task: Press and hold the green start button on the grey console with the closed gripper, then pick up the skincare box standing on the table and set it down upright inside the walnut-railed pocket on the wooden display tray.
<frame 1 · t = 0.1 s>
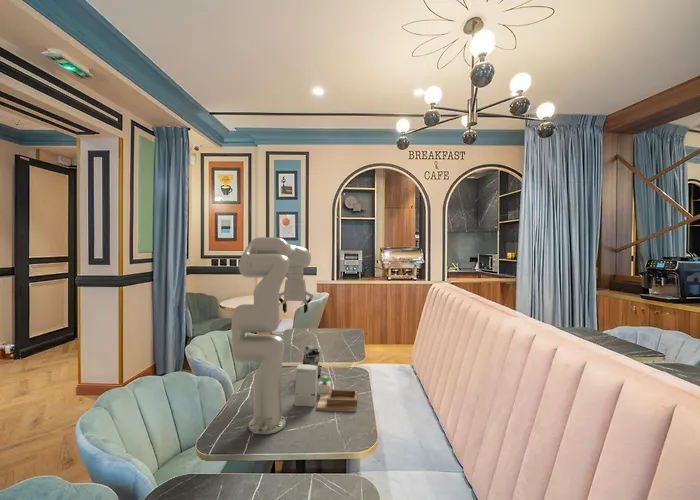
hand: (295, 312, 167), 31 cm above the table, tool pointing down, fingers open, 9 cm apart
figurine: (311, 378, 167), on the table
wooden display tray: (337, 403, 140), on the table
start button: (324, 383, 150), point 4 cm above the table, slide at 0.0 cm
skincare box: (306, 403, 140), on the table
console: (324, 392, 150), on the table
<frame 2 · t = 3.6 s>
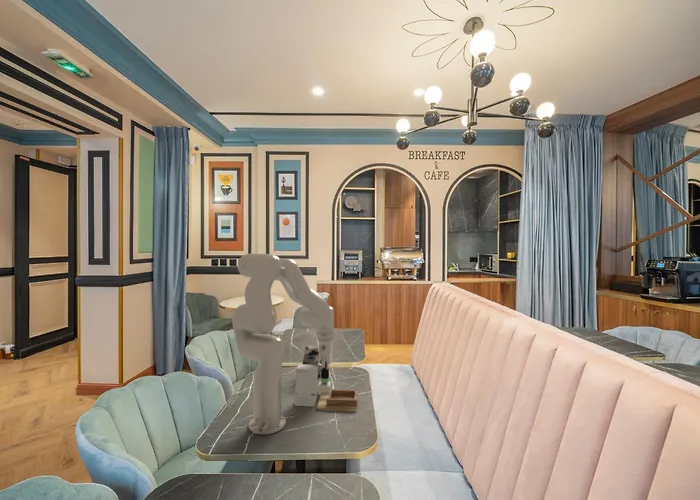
hand: (325, 377, 150), 6 cm above the table, tool pointing down, fingers closed
start button: (324, 384, 150), point 4 cm above the table, slide at 0.5 cm, touching gripper
everything else where it was.
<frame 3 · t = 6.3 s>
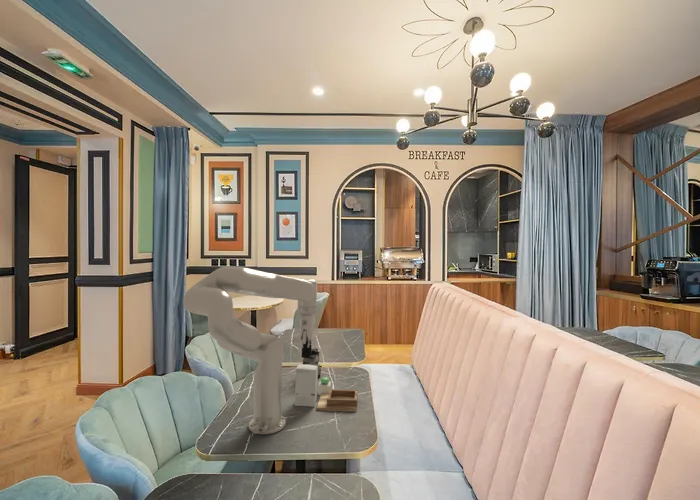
hand: (306, 355, 140), 19 cm above the table, tool pointing down, fingers closed
start button: (324, 384, 150), point 3 cm above the table, slide at 0.7 cm
everything else where it was.
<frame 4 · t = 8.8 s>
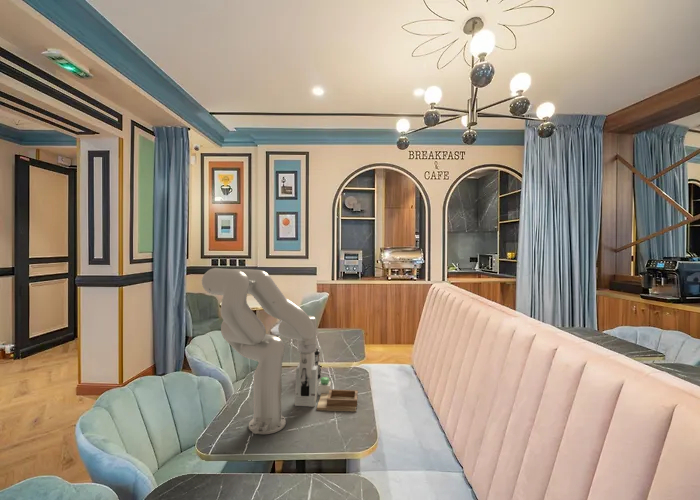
hand: (306, 391, 140), 5 cm above the table, tool pointing down, fingers closed on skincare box, 5 cm apart
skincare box: (306, 403, 140), on the table, touching gripper
everything else where it was.
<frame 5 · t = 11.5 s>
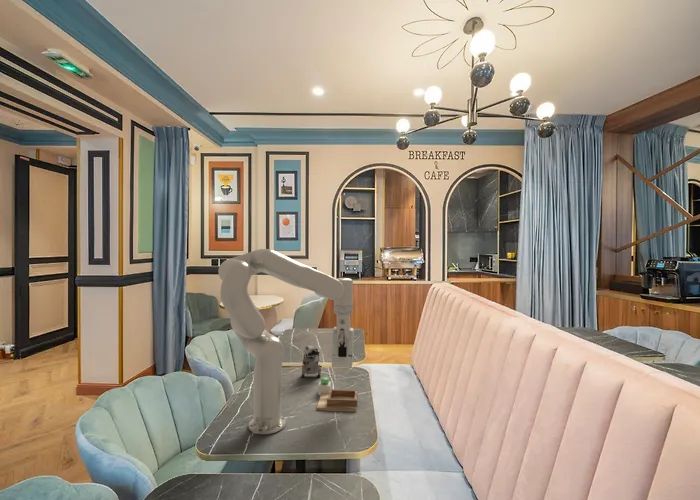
hand: (343, 353, 140), 20 cm above the table, tool pointing down, fingers closed on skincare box, 5 cm apart
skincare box: (342, 365, 140), point 15 cm above the table, touching gripper
everything else where it was.
when the fingers open (7 cm above the table, at t = 14.2 s): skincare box drops 1 cm, resting on wooden display tray.
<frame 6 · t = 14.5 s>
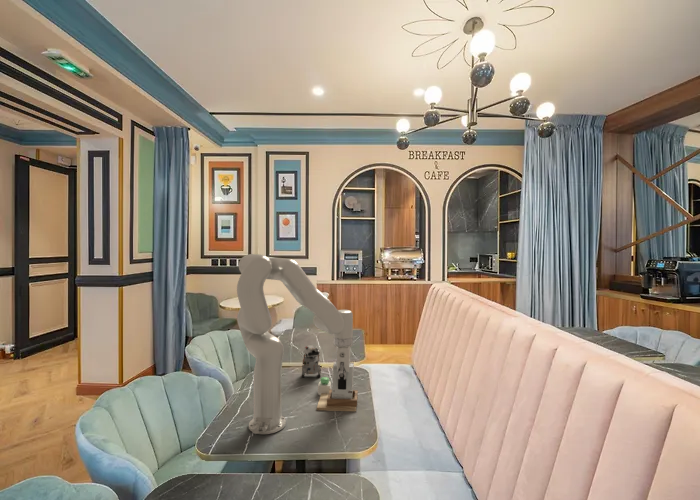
hand: (342, 384, 140), 8 cm above the table, tool pointing down, fingers open, 8 cm apart
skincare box: (342, 401, 140), point 1 cm above the table, touching wooden display tray
everything else where it was.
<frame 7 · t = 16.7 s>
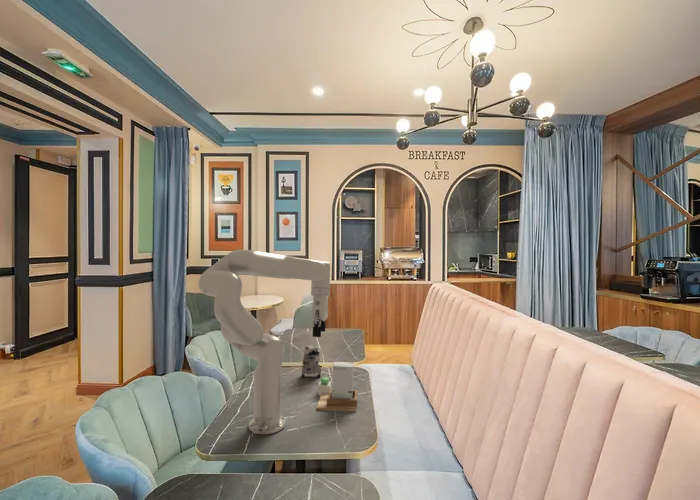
hand: (319, 334, 141), 27 cm above the table, tool pointing down, fingers open, 9 cm apart
nothing on the table moved.
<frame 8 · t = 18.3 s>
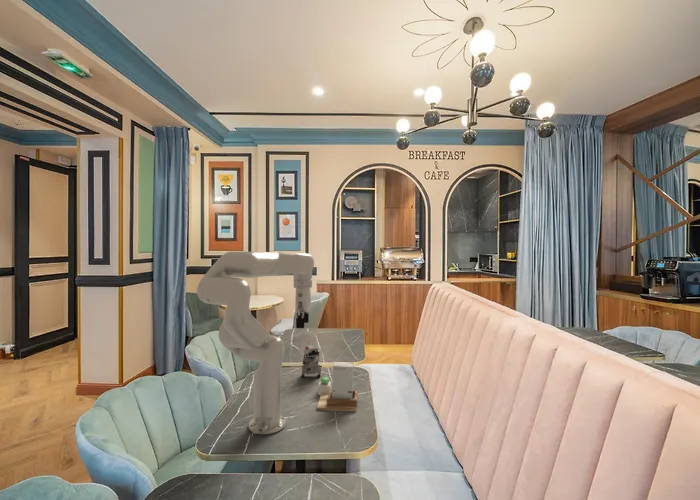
hand: (302, 325, 144), 30 cm above the table, tool pointing down, fingers open, 9 cm apart
nothing on the table moved.
at the end: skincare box 0.1 cm from the target spot on the wooden display tray, point 0.8 cm above the wooden display tray's base; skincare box tilted 0°; the gripper is holding nothing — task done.
